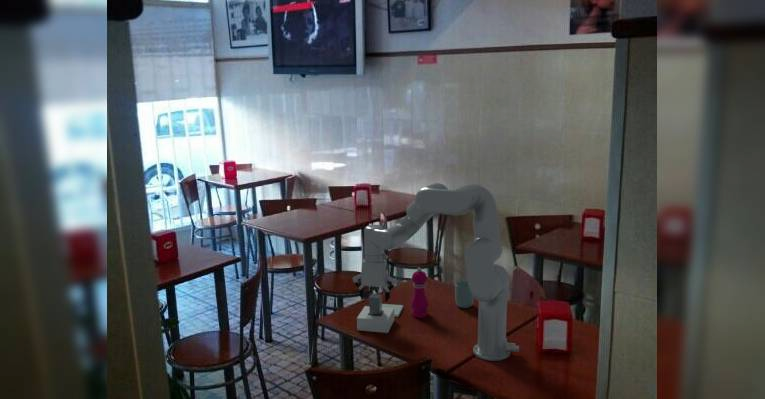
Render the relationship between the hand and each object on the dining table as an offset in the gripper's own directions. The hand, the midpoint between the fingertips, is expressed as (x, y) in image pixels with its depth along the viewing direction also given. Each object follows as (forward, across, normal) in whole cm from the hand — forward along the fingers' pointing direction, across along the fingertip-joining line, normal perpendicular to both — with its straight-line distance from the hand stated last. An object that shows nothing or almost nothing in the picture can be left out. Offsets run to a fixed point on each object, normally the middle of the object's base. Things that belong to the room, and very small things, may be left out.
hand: (374, 299), depth 224 cm
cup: (+10, -33, -25) cm, 42 cm away
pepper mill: (+10, -16, -13) cm, 23 cm away
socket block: (+10, -1, 0) cm, 11 cm away
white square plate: (+10, -3, -14) cm, 18 cm away
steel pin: (+10, -1, 0) cm, 11 cm away
